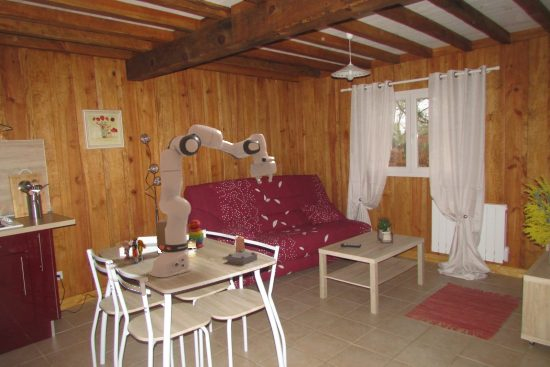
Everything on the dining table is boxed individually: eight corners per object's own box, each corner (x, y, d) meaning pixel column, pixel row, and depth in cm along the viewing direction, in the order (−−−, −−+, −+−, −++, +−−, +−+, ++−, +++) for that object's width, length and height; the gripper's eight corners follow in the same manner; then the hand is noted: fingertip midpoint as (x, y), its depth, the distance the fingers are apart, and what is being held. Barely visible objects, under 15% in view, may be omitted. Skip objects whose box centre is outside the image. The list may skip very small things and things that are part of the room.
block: (178, 249, 250) (176, 218, 248) (172, 254, 240) (171, 221, 239) (163, 249, 251) (161, 218, 249) (156, 254, 241) (155, 221, 240)
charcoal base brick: (243, 265, 214) (243, 257, 214) (227, 262, 221) (227, 254, 221) (257, 260, 224) (256, 252, 224) (241, 257, 231) (240, 249, 231)
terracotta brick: (244, 255, 234) (244, 237, 233) (236, 255, 234) (235, 237, 233) (244, 252, 239) (243, 235, 238) (235, 253, 239) (235, 235, 238)
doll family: (121, 257, 235) (120, 236, 234) (137, 254, 242) (135, 233, 240) (135, 265, 219) (134, 242, 218) (152, 261, 226) (150, 239, 225)
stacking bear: (187, 245, 261) (186, 219, 259) (203, 244, 263) (202, 218, 262) (188, 249, 251) (186, 221, 249) (204, 248, 253) (203, 220, 251)
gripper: (246, 163, 243) (250, 185, 243) (268, 158, 228) (272, 181, 228) (253, 162, 247) (257, 184, 247) (276, 157, 232) (280, 180, 232)
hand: (265, 182), depth 237 cm, fingers open, 8 cm apart
